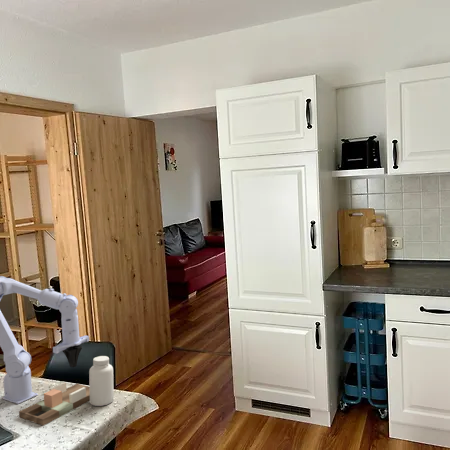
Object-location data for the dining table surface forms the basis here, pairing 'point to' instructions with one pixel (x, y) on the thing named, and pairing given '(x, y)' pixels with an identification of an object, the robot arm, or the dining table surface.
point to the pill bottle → (101, 382)
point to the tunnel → (73, 396)
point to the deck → (47, 414)
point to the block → (52, 398)
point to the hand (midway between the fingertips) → (73, 366)
